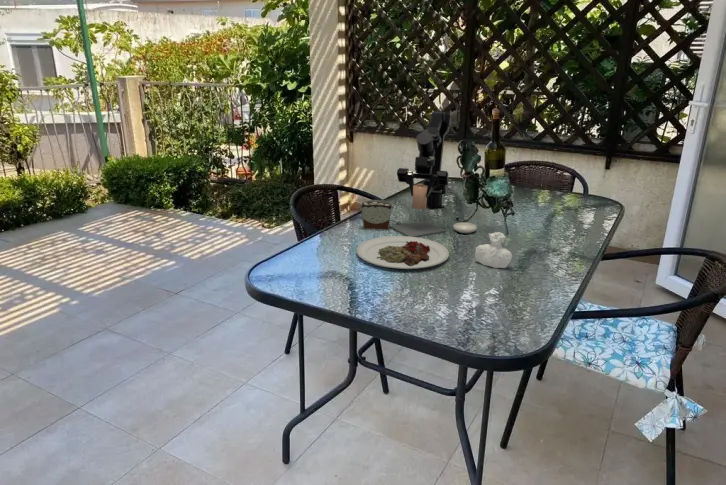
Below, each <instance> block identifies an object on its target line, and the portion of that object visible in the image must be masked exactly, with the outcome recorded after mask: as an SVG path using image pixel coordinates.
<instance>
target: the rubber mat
mask: <svg viewBox="0 0 726 485" xmlns="http://www.w3.org/2000/svg"><path fill="white" fill-rule="evenodd" d="M389 228H390V229H392V230H393V231H395V232H397V233H399V234H401V235H402V236H410V237H418V238H422V237H426V236H431V235H437V234H442V233H447V229H444V228H442V227H440V226H437V225H435V224H433V223H430V222H429V221H426V220H420V221H414V222H408V223H402V224H401V223H400V224H395V225H391V226H390V225H389Z"/></svg>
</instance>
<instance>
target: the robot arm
mask: <svg viewBox="0 0 726 485" xmlns="http://www.w3.org/2000/svg"><path fill="white" fill-rule="evenodd" d="M429 116H430V118H429V123H428V127H427V128H425V129H423V130H422V132H420V133H418V134H417V135H416V137H415V138H416V145H417V150H418V152H419V153H418V156H415V162H414V171H415V172H413V171H410V170H409V168H405V167H404V168H403V167H399V168H398V169H397V171H396V176H397V180H398V182H400V183H406V184H407V185H408V186H409V190H410V196H411V197H413V185H415V182H414V179H418V180H423V185H427V194H426V197H427V205H426V208H428V209H430V210H434V209H440V208H444V207H445V206H444V205H442V204H443V202H442V200H443V195H446V193H447V186H448V184H449V172H448V170H442V163H443V152H444V144H445V137H446V136H447V135H448V133H449V131H450V128H451V127H452V117H451V115H450V114H447V113H446V111H443V110H441V111H439V110H433V111H432V112H431V114H430V115H429Z"/></svg>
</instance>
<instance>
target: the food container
mask: <svg viewBox="0 0 726 485" xmlns="http://www.w3.org/2000/svg"><path fill="white" fill-rule="evenodd" d="M360 203H361V204H360V206H359V208H360V209H361V217H362V224H363V226H362V227H363V230H381V231H389V228H390V222H391V215H392V210H394V207H393V203H392V202H390V201H388V200H382V199H368V200H364V201H362V202H360Z"/></svg>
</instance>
